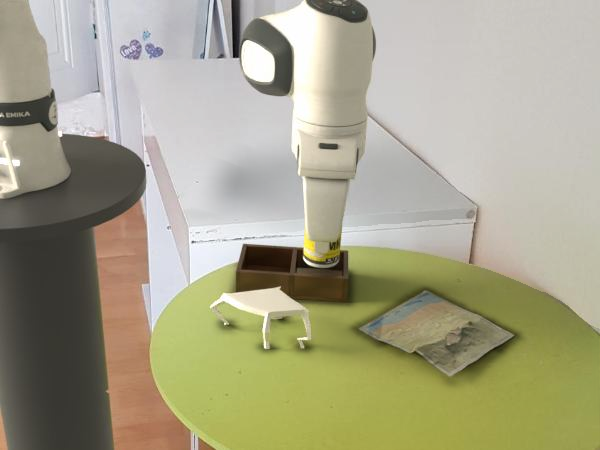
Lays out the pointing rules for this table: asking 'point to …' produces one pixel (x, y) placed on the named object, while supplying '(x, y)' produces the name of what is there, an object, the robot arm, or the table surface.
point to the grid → (290, 273)
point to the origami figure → (265, 308)
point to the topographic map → (437, 332)
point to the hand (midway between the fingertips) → (322, 239)
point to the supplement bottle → (321, 258)
